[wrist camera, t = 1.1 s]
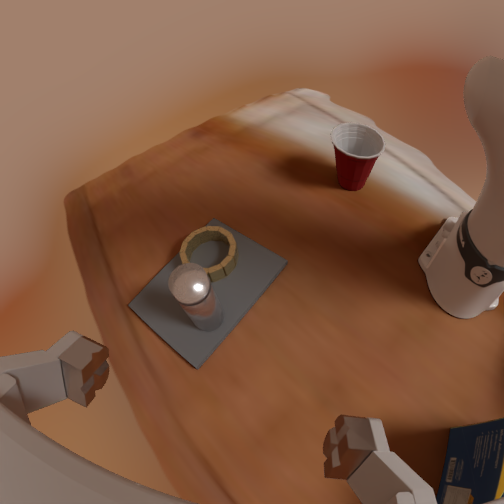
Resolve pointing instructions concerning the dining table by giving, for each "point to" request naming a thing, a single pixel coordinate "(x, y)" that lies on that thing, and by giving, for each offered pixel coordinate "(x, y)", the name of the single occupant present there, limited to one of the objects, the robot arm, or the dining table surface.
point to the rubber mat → (227, 291)
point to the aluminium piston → (196, 296)
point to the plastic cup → (355, 153)
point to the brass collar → (212, 235)
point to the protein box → (473, 464)
